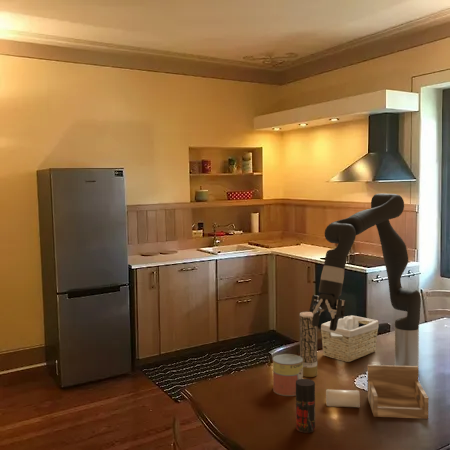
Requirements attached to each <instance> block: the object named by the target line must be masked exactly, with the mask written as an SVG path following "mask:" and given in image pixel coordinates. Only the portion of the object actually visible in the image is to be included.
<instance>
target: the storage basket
mask: <svg viewBox="0 0 450 450" xmlns="http://www.w3.org/2000/svg"><path fill="white" fill-rule="evenodd" d="M330 323H331V320H330V321H327V322H324V323H321V325H320V330H321V331H320V334H321V343H322V354H323V356H324V357H325V356H326V357H327V358H332V359H335V360H337V361H338V360H339V361H342V362H346V363H351V362H353V361H355V360H357V359H360V358H362V357H365V356H368V355H369V354H372V353H374V352H376V350H377V349H376V348H377V342H378V341H377V339H378V330H379V325H380V324H379V320H377V319H373V318H372V319H371V318H368V317H367V318H366V317H362V316H357V315H352V314H351V315H347V316H344V318H343V319H342V318H341V319H339V320H338V324H337V328H336V330H335V331H333V330H330ZM360 324H363V325H362V326H359V325H360Z"/></svg>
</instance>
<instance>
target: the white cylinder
mask: <svg viewBox="0 0 450 450" xmlns="http://www.w3.org/2000/svg"><path fill="white" fill-rule="evenodd" d="M360 396H361V395H360V391H359V390H356V389H355V390H352V389H351V390H350V389H328V388H327V389H326V390H325V402H326V406H327V407H339V408H340V407H342V408H343V407H344V408H360V407H361V406H360V405H361V397H360Z"/></svg>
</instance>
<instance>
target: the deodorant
mask: <svg viewBox="0 0 450 450" xmlns="http://www.w3.org/2000/svg"><path fill="white" fill-rule="evenodd" d="M295 426H296V427H295V429H296V430H297V431H298V432H300V433H303V434H304V433H305V434H309V433H313V432H314V431H316V382H315V381H314V380H313V379H309V378H303V379H299V380H297V381H296V396H295Z"/></svg>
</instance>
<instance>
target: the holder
mask: <svg viewBox="0 0 450 450" xmlns="http://www.w3.org/2000/svg"><path fill="white" fill-rule="evenodd" d="M429 398H430V397H429V396H428V395H427V393H426V391H425V390H424V388H423V386H422V384H421V383H420V381H419V365H418V366H396V365H395V364H394V365H393V364H392V365H391V364H390V365H389V364H388V365H387V364H367V400H368V403H369V405H370V409H371V413H372V415H373V418H374V417H375V418H376V417H377V418H378V417H379V418H402V419H425V420H427V419H429V401H430V400H429Z"/></svg>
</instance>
